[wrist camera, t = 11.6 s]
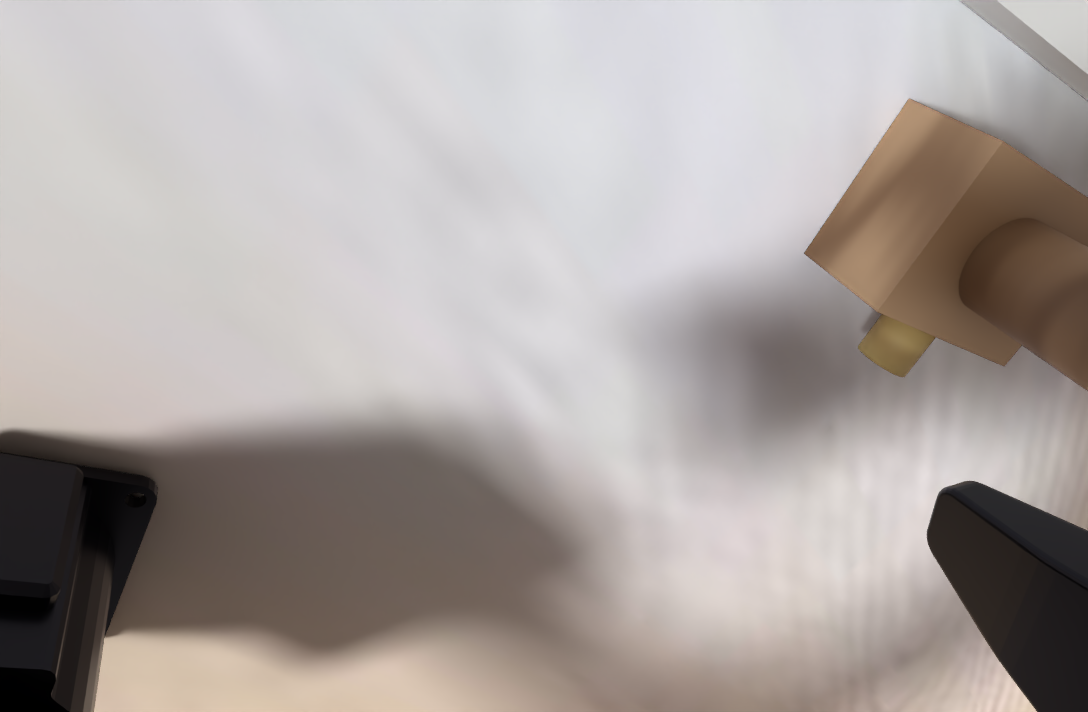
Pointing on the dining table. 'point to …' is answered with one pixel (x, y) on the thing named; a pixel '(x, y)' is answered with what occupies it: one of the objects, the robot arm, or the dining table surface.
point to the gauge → (961, 248)
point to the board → (1044, 33)
